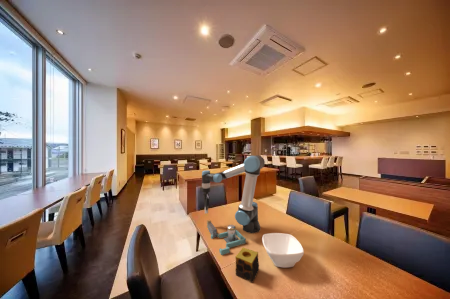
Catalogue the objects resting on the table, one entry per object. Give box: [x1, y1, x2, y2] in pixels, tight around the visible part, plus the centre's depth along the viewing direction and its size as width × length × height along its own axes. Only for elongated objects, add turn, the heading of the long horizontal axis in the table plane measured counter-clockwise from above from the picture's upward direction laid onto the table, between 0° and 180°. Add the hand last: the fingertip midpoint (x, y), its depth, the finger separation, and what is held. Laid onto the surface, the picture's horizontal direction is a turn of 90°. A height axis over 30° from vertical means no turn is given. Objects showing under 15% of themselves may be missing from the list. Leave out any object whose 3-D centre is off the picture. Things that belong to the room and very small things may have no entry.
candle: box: [234, 247, 260, 283], centre depth 85 cm, size 10×10×10 cm
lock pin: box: [206, 219, 218, 239], centre depth 129 cm, size 3×17×7 cm, turn 23°
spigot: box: [226, 224, 237, 242], centre depth 117 cm, size 6×6×10 cm
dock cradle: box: [210, 229, 247, 256], centre depth 115 cm, size 21×23×3 cm
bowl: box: [261, 232, 305, 268], centre depth 93 cm, size 22×22×12 cm
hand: (206, 213), depth 142 cm, fingers closed
